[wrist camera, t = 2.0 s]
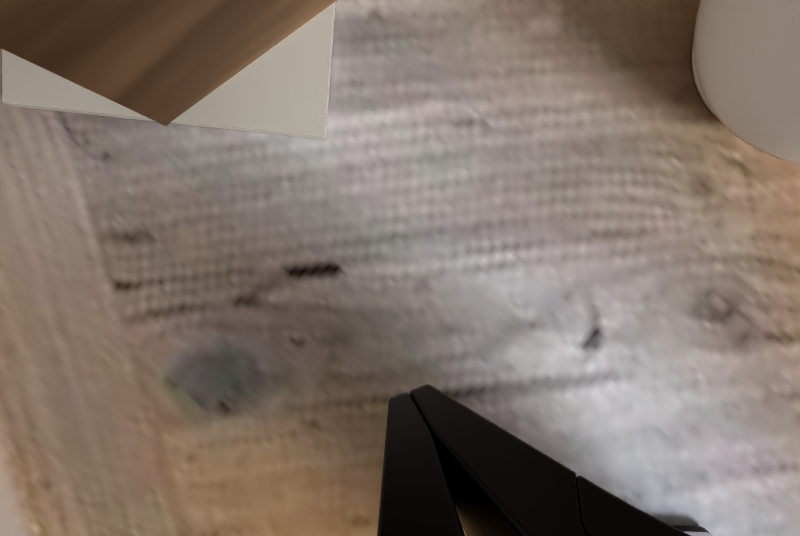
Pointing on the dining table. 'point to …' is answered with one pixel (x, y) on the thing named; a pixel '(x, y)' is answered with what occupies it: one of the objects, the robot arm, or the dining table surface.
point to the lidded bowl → (751, 70)
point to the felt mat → (224, 107)
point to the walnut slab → (149, 44)
